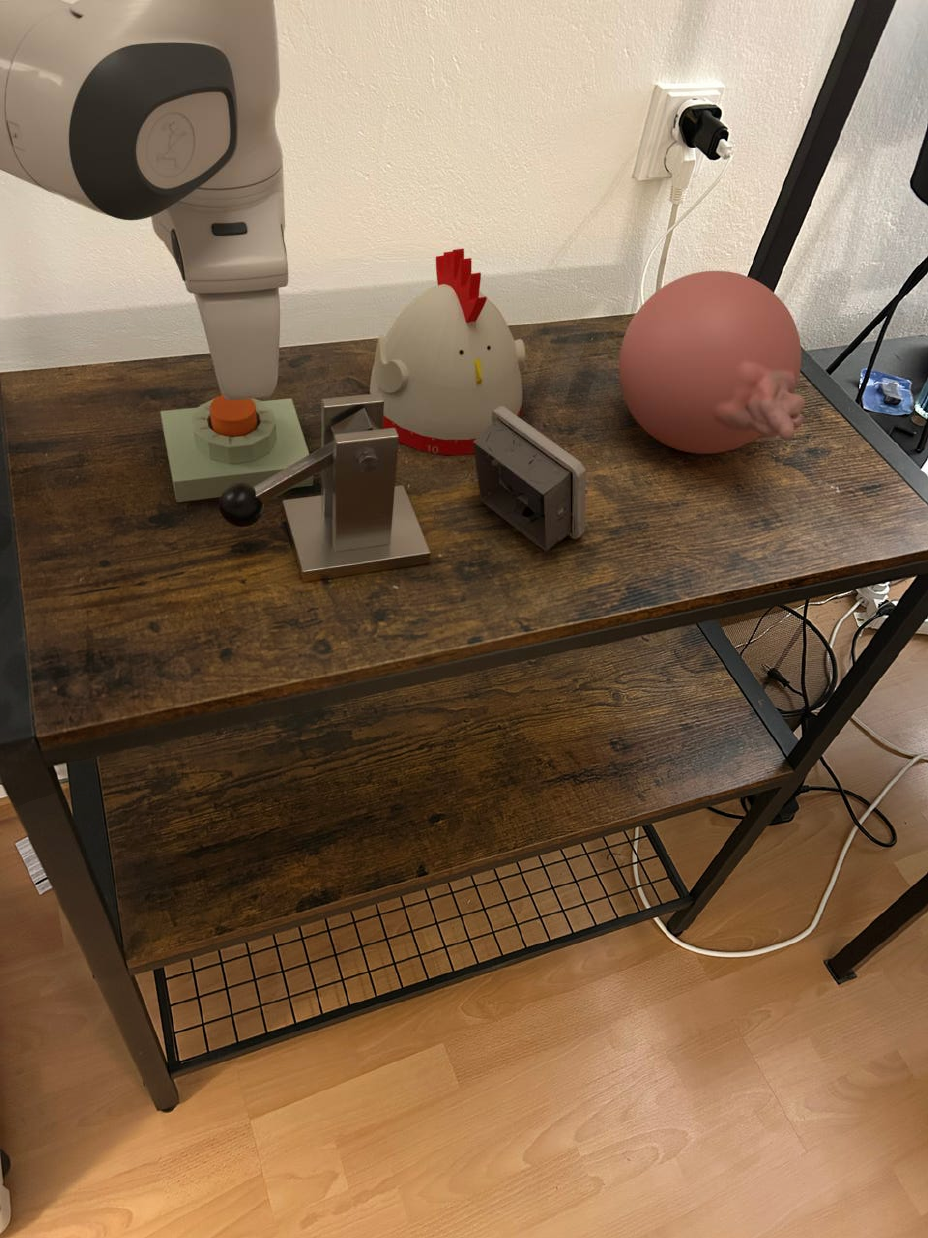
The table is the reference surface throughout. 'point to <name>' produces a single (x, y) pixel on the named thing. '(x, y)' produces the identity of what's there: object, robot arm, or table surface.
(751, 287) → the balloon
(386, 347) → the kitchen timer
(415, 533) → the switch bracket
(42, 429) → the table surface
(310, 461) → the switch lever
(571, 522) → the electrical switch
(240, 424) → the button
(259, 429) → the control block
